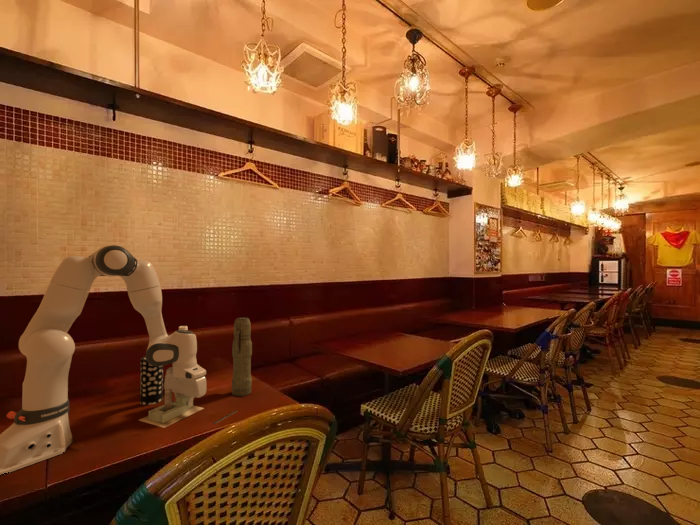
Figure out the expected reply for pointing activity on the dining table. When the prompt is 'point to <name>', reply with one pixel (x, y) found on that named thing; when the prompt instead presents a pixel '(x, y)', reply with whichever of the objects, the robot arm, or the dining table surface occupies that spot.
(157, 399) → the white-spotted black cylinder
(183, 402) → the link
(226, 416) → the mat
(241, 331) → the stone moai statue
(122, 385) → the dining table surface
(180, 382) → the robot arm
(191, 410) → the post stand
